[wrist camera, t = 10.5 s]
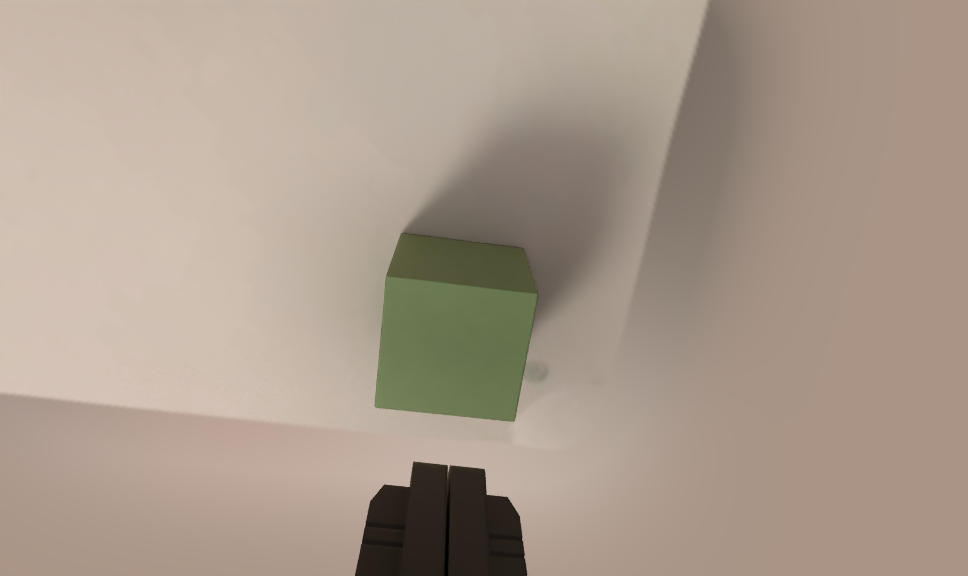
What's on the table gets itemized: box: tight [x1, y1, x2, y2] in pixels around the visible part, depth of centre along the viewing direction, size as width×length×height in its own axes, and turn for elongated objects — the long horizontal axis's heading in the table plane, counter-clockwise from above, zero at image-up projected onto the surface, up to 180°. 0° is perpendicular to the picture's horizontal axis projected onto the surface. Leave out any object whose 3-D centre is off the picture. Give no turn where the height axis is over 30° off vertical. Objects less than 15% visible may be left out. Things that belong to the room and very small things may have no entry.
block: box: [375, 233, 538, 422], centre depth 23 cm, size 5×5×5 cm
